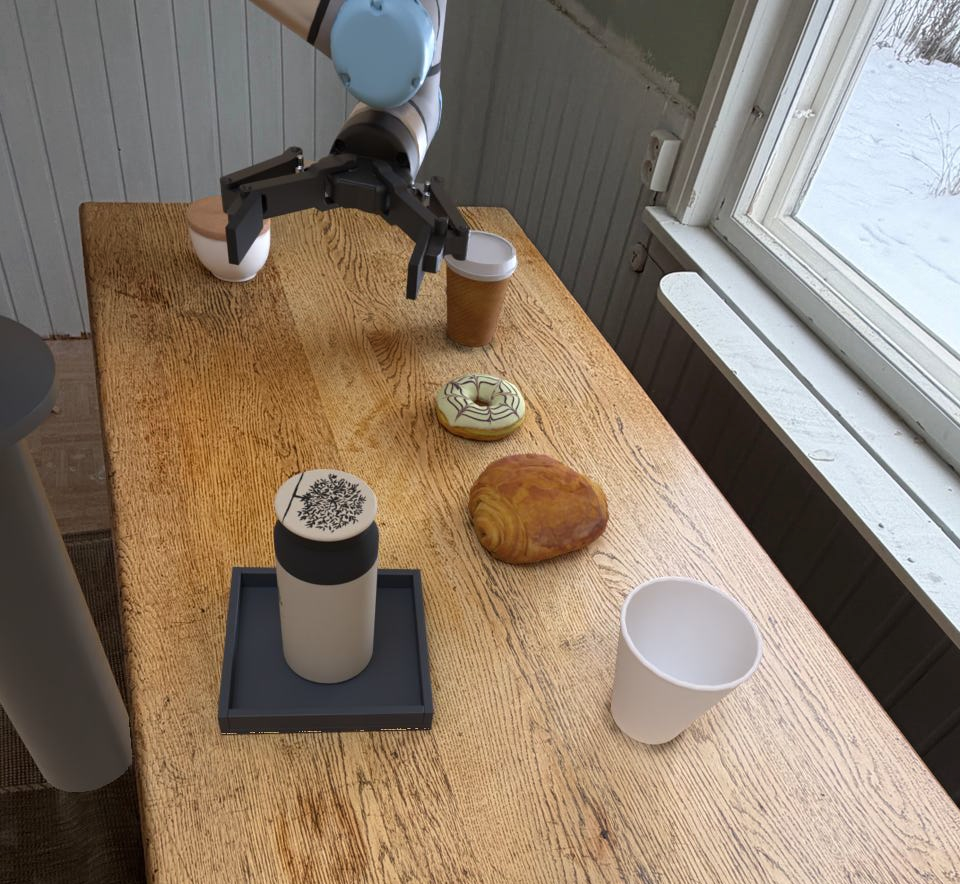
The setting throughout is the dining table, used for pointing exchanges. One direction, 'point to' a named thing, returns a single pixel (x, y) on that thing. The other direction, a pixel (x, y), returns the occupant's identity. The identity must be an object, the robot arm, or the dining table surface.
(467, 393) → the decorated donut
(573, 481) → the croissant
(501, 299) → the disposable coffee cup
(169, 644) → the dining table surface
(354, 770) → the dining table surface
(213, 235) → the trinket box
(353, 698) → the serving tray
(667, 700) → the cup
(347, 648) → the travel mug
